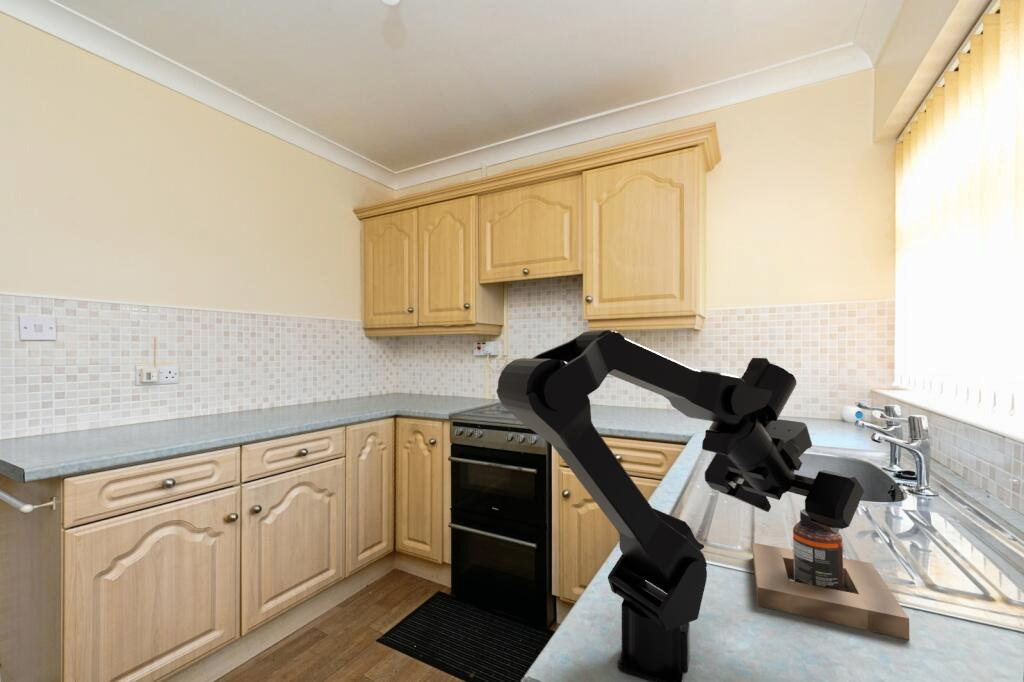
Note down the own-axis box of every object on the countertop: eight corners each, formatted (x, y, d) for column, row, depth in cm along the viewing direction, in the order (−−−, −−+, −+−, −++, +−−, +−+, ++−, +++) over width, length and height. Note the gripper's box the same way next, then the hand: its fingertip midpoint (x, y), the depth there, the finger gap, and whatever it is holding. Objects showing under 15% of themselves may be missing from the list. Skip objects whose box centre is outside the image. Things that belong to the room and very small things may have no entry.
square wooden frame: (757, 605, 61) (757, 587, 61) (752, 557, 75) (752, 542, 75) (909, 639, 54) (909, 618, 54) (872, 579, 68) (871, 563, 68)
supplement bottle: (823, 581, 68) (822, 505, 68) (854, 603, 62) (853, 520, 62) (784, 581, 67) (783, 505, 68) (812, 603, 61) (811, 520, 62)
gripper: (854, 409, 53) (901, 490, 57) (716, 395, 69) (761, 459, 74) (817, 486, 49) (871, 566, 54) (680, 452, 65) (731, 516, 70)
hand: (800, 519), depth 63 cm, fingers open, 9 cm apart
